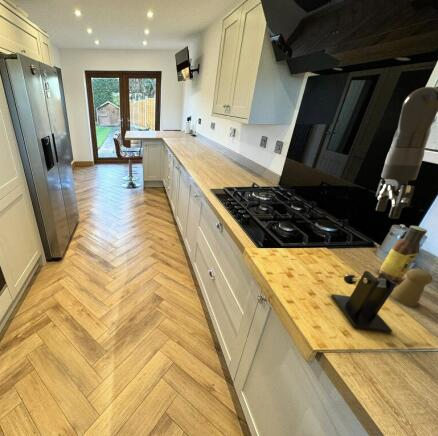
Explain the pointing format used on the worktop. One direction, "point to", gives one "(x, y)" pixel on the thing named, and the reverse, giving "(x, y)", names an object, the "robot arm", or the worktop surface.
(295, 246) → the worktop surface
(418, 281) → the cork
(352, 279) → the lever
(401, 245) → the sauce bottle
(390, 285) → the bracket
